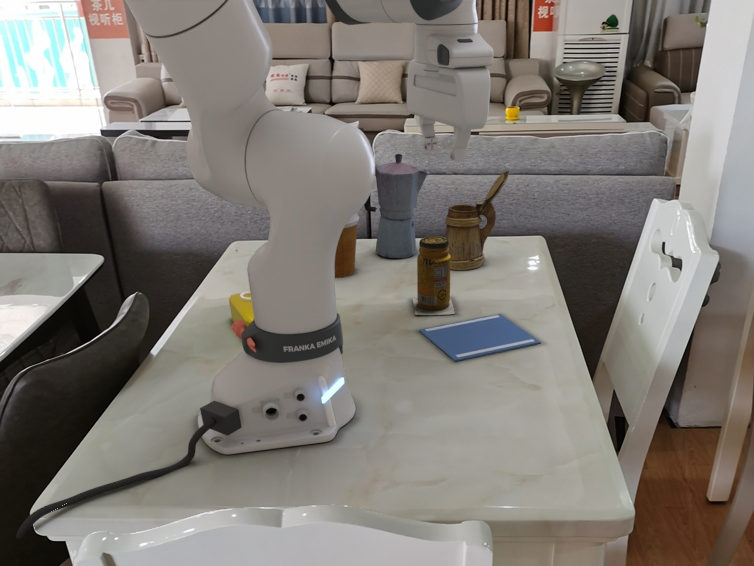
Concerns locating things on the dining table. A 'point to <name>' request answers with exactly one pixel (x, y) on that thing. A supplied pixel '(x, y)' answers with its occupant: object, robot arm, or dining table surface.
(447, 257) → the condiment
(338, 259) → the disposable coffee cup
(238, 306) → the element tile
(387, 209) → the moka pot
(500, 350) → the napkin
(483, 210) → the wooden mug
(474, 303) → the dining table surface
